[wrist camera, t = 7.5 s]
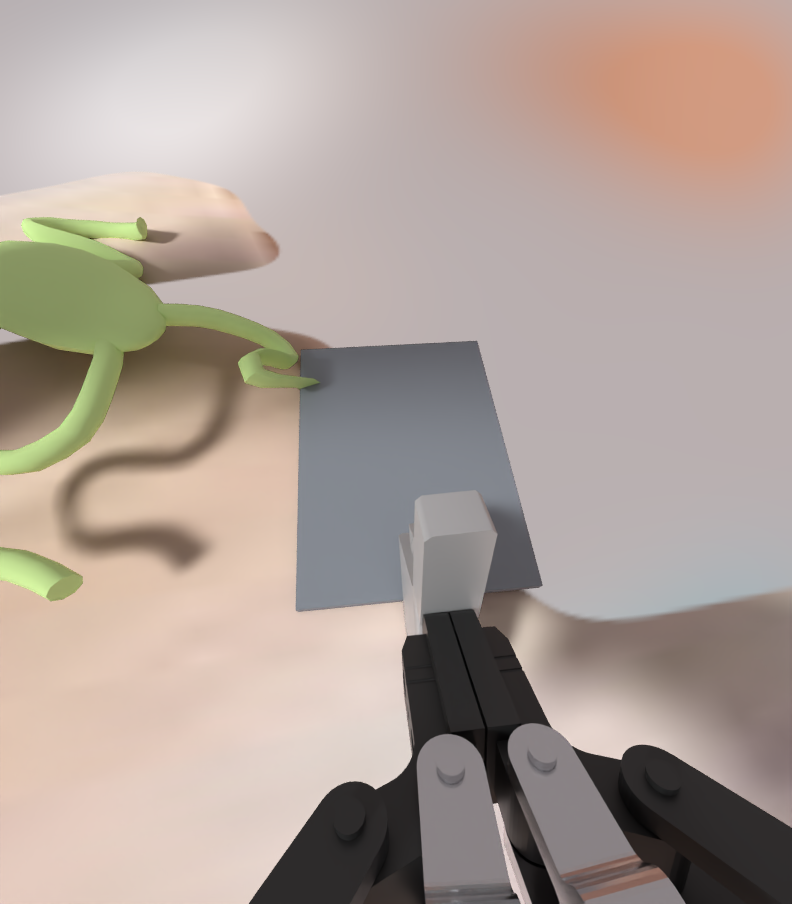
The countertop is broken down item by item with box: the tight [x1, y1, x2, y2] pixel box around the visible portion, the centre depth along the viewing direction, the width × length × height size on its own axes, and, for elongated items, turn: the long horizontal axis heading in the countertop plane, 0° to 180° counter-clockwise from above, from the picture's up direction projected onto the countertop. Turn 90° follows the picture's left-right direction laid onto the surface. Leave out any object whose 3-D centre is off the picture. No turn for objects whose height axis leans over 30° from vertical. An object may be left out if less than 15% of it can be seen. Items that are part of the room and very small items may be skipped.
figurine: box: [0, 217, 320, 601], centre depth 22 cm, size 18×27×6 cm
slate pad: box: [296, 341, 542, 612], centre depth 22 cm, size 11×15×1 cm
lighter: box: [399, 490, 497, 636], centre depth 13 cm, size 7×2×8 cm
